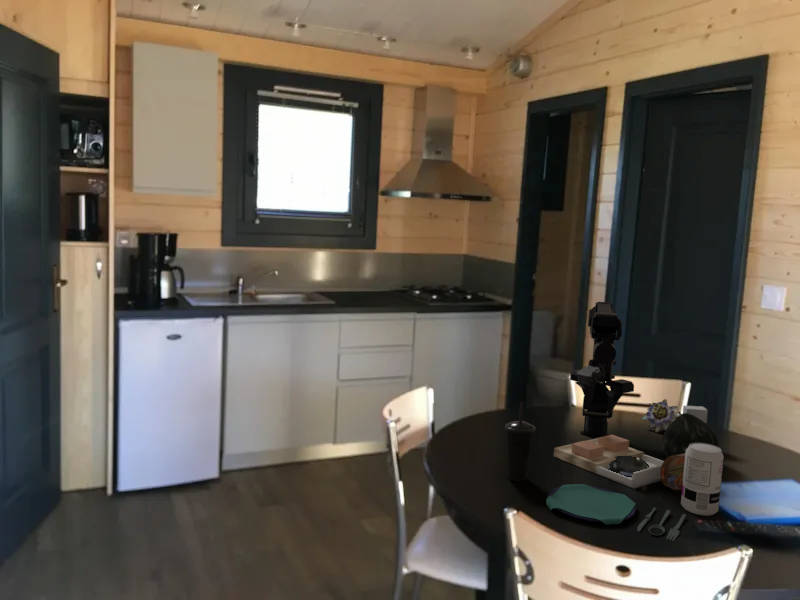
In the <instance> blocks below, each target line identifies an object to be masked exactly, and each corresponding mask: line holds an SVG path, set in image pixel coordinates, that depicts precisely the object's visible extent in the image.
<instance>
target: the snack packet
mask: <svg viewBox="0 0 800 600" xmlns="http://www.w3.org/2000/svg"><path fill="white" fill-rule="evenodd" d="M663 461H664V462H663V464H662V466H661V473H660V475H661V481H660V482H661V483H662V484H663V486H665V487H666V488H669V489H671V490H673V491H680V490H681V491H682V485H683V474H684V464H685V453H684V454H679V455H674V456H670V457H666V458H665V459H664V460H663Z"/></svg>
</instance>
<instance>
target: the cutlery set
mask: <svg viewBox="0 0 800 600" xmlns="http://www.w3.org/2000/svg"><path fill="white" fill-rule="evenodd" d="M545 504H546V506H547V508H548V509H549V511H552V509H556V510H557V511H559V512H561V513H563V514H564V515H567V516H570V517H573V518H575V519H579V520H583V521H588V522H595V523H603V524H604V525H605V526H607V525H609V526H611V525H619V524H621V523H622V522H623V521H625V520H629V519H630V518H632V517H634V515H635V513H636V510H637V508H636V506H637V503H636V502H635V501H633V500H632V499H631V498H630V497H628V496H627V495H626V494H623V493H619V492H615V491H613V490H609V489H607V488H603V487H598V486H592V485H588V484H584V483H580V484H579V483H577V484H576V483H573V484H572V483H570V484H562V485H560V486H559V487H558V486H557V487H555V488H554V489H552V490H550V491H549V493H548V495H547V498H546V503H545ZM654 512H657V508H656V507H653V508H652V510H651V512H649V513H648V514H646V515H645V516H644V519H643V520H642V521H641V522H640V523H639V524H638V526H637V527H636V531H637V532H638V533H640V532H641V531H642V529H644V527H645V525H646V524H647V522H650V520H651V519H652V515H653V514H654ZM671 512H672V511H671V509H670V510H669V509H666V511H665V512H664V515H663V516H662V518H661V520H660V523H659V524H653V525H650V526H649V527H648V532H649V534H651V535H652V536H662V535H664V534H665V531H666V529H665V527H664V526H663V524H664V522H665V521H666V519H668V517H669V515H671ZM686 517H687V514H685V513H682V515H681V516H680V518H679V521H678V522H677V524H676V526H673V528H670V529H669V531H668V534H667V536H666V539H665V540H667V541H668V540H669V541H672V542H674V541H675V540H676V539H677V537H678V536H680V534H681V533H680V530H679V529H680V528H681V526H682V524H683V523H684V521H685V519H686ZM653 529H660V530H661V531H662V533H660V534H654V533H652V532H651V530H653Z"/></svg>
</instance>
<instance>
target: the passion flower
mask: <svg viewBox="0 0 800 600" xmlns="http://www.w3.org/2000/svg"><path fill="white" fill-rule="evenodd" d="M648 405H649V407H648V408H647V409H646V410H647V411H646V413H645V414H644V415H642V416H640V419H641V420H643V421H646V420H648V421H649V425H648V426H649V429H654V431H655V433H659V432H660V431H661V429H662V427H663V429H664V430H666V429H667V427H668V426H669V425H670V424H671V423H672V422H673V421H674V420H676V419H677V418H678V417H679V416H680V415H681V414H682V413H681V411H677V410H678V409H679V406H678V405H672V406H669V404H668V400H667V399H666V398H664V399H662V401H659V402H652V403H650V402H649V403H648Z"/></svg>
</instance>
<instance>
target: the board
mask: <svg viewBox="0 0 800 600" xmlns="http://www.w3.org/2000/svg"><path fill="white" fill-rule="evenodd" d="M587 441H590V442H593V443H595V444H598V438H592V439H588V440H587ZM572 444H573V443H569V444H566V445H560V446H556V447H554V449H553V457H554V458H556V457H557V458H556V459H558V458H559V459H558V460H561V461H564V462H566V463H569V464H572V465H573V466H576V467H578V468H581V469H584V470H586V471H589V472H591V473H594V474H596V467H597V466H601V467H603V468H606V469H607V466H608V465H609V464H610V463H611V462H612V461H614V460H616V458H615V457H617V456H632V457H638V458H640V459H642V454H645V452H644V451H641V450H638V449H635V448H633V447H630V446H629V449H627V450H623V451H619V452H612V451H610V450H607V449H604V451H603V455H602V456H598V457H594V458H590V459H588V458H585V457H582V456H580V455H577V454H574V453H572Z"/></svg>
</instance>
